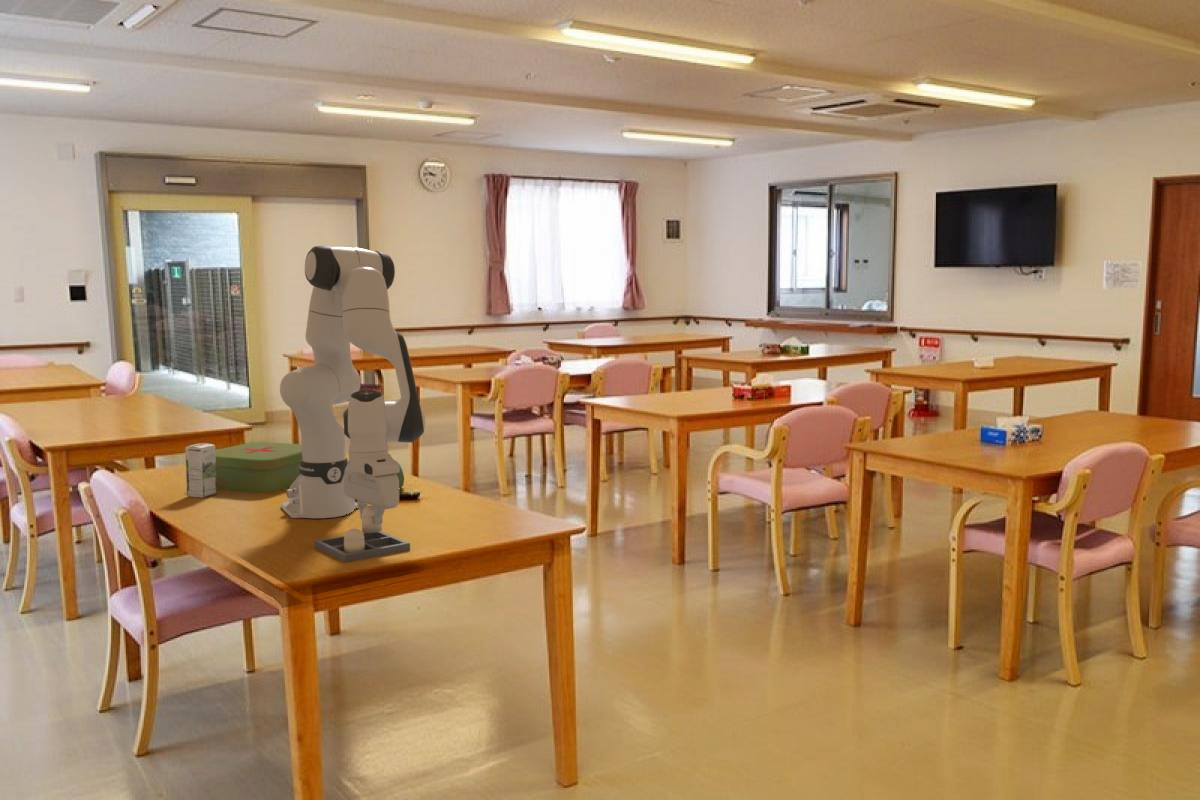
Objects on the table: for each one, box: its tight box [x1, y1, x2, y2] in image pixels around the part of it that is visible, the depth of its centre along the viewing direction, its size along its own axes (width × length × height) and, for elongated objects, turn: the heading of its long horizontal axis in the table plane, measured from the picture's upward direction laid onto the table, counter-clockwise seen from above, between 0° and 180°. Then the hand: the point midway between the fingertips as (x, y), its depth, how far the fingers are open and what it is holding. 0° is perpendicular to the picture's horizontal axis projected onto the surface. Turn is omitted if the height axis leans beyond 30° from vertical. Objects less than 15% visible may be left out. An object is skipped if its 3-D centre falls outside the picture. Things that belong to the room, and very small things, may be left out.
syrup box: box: [184, 442, 218, 499], centre depth 284 cm, size 6×6×14 cm
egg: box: [361, 505, 383, 533], centre depth 231 cm, size 4×4×6 cm
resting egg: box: [344, 528, 365, 554], centre depth 221 cm, size 4×4×6 cm
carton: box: [314, 531, 411, 564], centre depth 226 cm, size 16×16×2 cm
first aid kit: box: [215, 441, 302, 494], centre depth 302 cm, size 26×26×10 cm
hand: (371, 521), depth 231 cm, fingers closed on egg, 4 cm apart
